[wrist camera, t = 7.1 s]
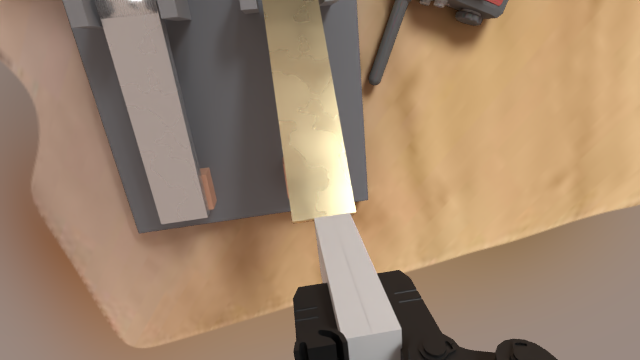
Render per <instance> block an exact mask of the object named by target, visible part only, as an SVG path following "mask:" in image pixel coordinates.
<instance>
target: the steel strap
mask: <svg viewBox="0 0 640 360" xmlns="http://www.w3.org/2000/svg"><path fill="white" fill-rule="evenodd" d="M95 6H96V9H97V12H98V14H99V16H100V19H101V22H102V26H103V29H104V32H105V36H106V39H107V42H108V46H109V49H110V53H111V56H112V59H113V63H114V66H115V69H116V73H117V76H118V80H119V83H120V86H121V90H122V93H123V96H124V100H125V103H126V107H127V110H128V113H129V117H130V120H131V123H132V127H133V130H134V134H135V137H136V140H137V144H138V147H139V151H140V154H141V157H142V161H143V164H144V167H145V171H146V174H147V178H148V181H149V184H150V188H151V191H152V194H153V198H154V201H155V205H156V208H157V211H158V215H159V218H160V221H161V224H167V223H174V222H181V221H188V220H195V219H202V218H208V216H209V213H210V210H209V206H208V202H207V198H206V193H205V189H204V185H203V181H202V177H201V172H200V168H199V164H198V160H197V156H196V151H195V147H194V143H193V139H192V134H191V130H190V126H189V122H188V118H187V113H186V109H185V105H184V101H183V97H182V92H181V88H180V84H179V80H178V76H177V71H176V67H175V63H174V59H173V55H172V50H171V46H170V42H169V38H168V34H167V29H166V25H165V21H164V19H161V15H160V11H159V7H158V3H157V0H95Z"/></svg>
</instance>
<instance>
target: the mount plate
mask: <svg viewBox="0 0 640 360" xmlns="http://www.w3.org/2000/svg"><path fill="white" fill-rule="evenodd" d="M62 1H63V4H64V7H65V10H66V13H67V16H68V19H69V22H70V25H71V29H72V32H73V35H74V38H75V41H76V44H77V47H78V50H79V53H80V56H81V59H82V62H83V65H84V68H85V71H86V74H87V77H88V80H89V83H90V86H91V89H92V92H93V95H94V98H95V101H96V104H97V108H98V111H99V114H100V117H101V120H102V123H103V126H104V129H105V132H106V135H107V138H108V141H109V144H110V147H111V150H112V153H113V156H114V159H115V162H116V165H117V168H118V171H119V174H120V177H121V180H122V183H123V187H124V190H125V193H126V196H127V199H128V202H129V205H130V208H131V211H132V214H133V217H134V220H135V223H136V226H137V229H138V232H139V233H145V232H152V231H159V230H166V229H172V228H179V227H186V226H193V225H200V224H207V223H213V222H220V221H227V220H234V219H241V218H248V217H254V216H261V215H268V214H275V213H282V212H289V211H291V208H290V201H289V193H288V186H287V179H286V171H285V164H284V157H283V150H282V142H281V135H280V128H279V120H278V113H277V106H276V99H275V91H274V84H273V77H272V69H271V62H270V55H269V47H268V40H267V33H266V26H265V18H264V11H263V4H262V0H157V3H158V7H159V11H160V15H161V19H164V21H165V25H166V29H167V34H168V38H169V42H170V46H171V50H172V55H173V59H174V63H175V67H176V71H177V76H178V80H179V84H180V88H181V92H182V97H183V101H184V105H185V109H186V113H187V118H188V122H189V126H190V130H191V134H192V139H193V143H194V147H195V151H196V156H197V160H198V164H199V168H200V172H201V177H202V181H203V185H204V189H205V193H206V198H207V202H208V206H209V210H210V213H209V216H208V218H202V219H195V220H188V221H181V222H174V223H167V224H161V221H160V218H159V215H158V211H157V208H156V205H155V201H154V198H153V194H152V191H151V188H150V184H149V181H148V178H147V174H146V171H145V167H144V164H143V161H142V157H141V154H140V151H139V147H138V144H137V140H136V137H135V134H134V130H133V127H132V123H131V120H130V117H129V113H128V110H127V107H126V103H125V100H124V96H123V93H122V90H121V86H120V83H119V80H118V76H117V73H116V69H115V66H114V63H113V59H112V56H111V53H110V49H109V46H108V42H107V39H106V36H105V32H104V29H103V26H102V22H101V19H100V16H99V14H98V12H97V9H96V6H95V0H62ZM318 1H319V6H320V12H321V18H322V23H323V29H324V35H325V40H326V46H327V51H328V57H329V63H330V68H331V74H332V80H333V85H334V91H335V96H336V102H337V108H338V113H339V119H340V124H341V130H342V136H343V141H344V147H345V153H346V158H347V164H348V169H349V175H350V181H351V186H352V192H353V198H354V202H357V201H364V200H368V189H367V172H366V155H365V138H364V121H363V104H362V87H361V69H360V52H359V35H358V18H357V1H356V0H318Z"/></svg>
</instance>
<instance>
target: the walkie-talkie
mask: <svg viewBox="0 0 640 360" xmlns="http://www.w3.org/2000/svg"><path fill="white" fill-rule="evenodd" d="M431 1H434V4H433V5H434V6H436V7H440V8H443V7H444V5H446V6H449V7H451V8H454V9H456V10H459V11H458V12H457V13H456V15H455V18H456V19H457V20H458V21H460V22H462V23H465V24H469V25H473V26H478V25H481V23H482V20H483V19H490V18H497V17H499V16H500V15H501V14H503V11H504V9H505V7H506V4H507V2H508V0H420V2H419V3H420V4H422V5H426V6H428V5H429V4H430V2H431ZM409 2H411V0H395V3H394V5H393V8H392V11H391V14H390V17H389V20H388V23H387V26H386V29H385V32H384V35H383V38H382V41H381V43H380V46H379V49H378V52H377V55H376V58H375V61H374V64H373V67H372V70H371V73H370V76H369V83H370V84H371V85H378V84H379V83H380V81H381V79H382V76H383V73H384V70H385V67H386V64H387V62H388V59H389V56H390V53H391V50H392V48H393V45H394V42H395V39H396V36H397V34H398V31H399V28H400V25H401V22H402V20H403V17H404V14H405V11H406V8H407V6H408V3H409Z"/></svg>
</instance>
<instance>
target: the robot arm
mask: <svg viewBox="0 0 640 360" xmlns="http://www.w3.org/2000/svg"><path fill="white" fill-rule="evenodd" d="M314 221H315V229H316V237H317V246H318V254H319V262H320V270H321V276H322V281H323V283H322V284H316V285H310V286H304V287H298V289H297V291H296V293H295V295H294V298H293V303H294V316H295V328H296V342H295V346H294V357H295V360H557V359H556V358H555V357H554V356H553V355H551V354H550V353H549V352H548V351H546V350H545V349H543V348H542V347H540V346H538V345H537V344H535V343H532V342H529V341H526V340H521V339H510V340H505V341H503V342H502V343H501V344H499V345H498V346H497V350H496V352H495V353H492V352H482V351H474V350H468V349H465V348H462V347H459V346H458V345H457V344H456V342H455V341H454V340H453V339H451V338H449V337H448V336H446V335H444V334H442V332H441V331H440V329H439V327H438V326H437V324H436V322H435V320H434V319H433V317H432V315H431V314H430V312H429V310H428V308H427V307H426V305H425V303H424V301H423V300H422V299H421V296H420V294H419V293H418V291H417V290H416V287H415V286H414V284H413V282H412V280H411V279H410V278H409V277H408V276H407V275H405V274H404V273H403V272H401V271H400V270H396V271H390V272H384V273H378V274H377V273H376V270H375V268H374V266H373V264H372V261H371V259H370V257H369V255H368V252H367V250H366V248H365V246H364V244H363V241H362V239H361V237H360V235H359V232H358V230H357V228H356V226H355V223H354V221H353V219H352V217H351V214H350V213H345V214H339V215H332V216H325V217H318V218H314Z"/></svg>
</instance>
